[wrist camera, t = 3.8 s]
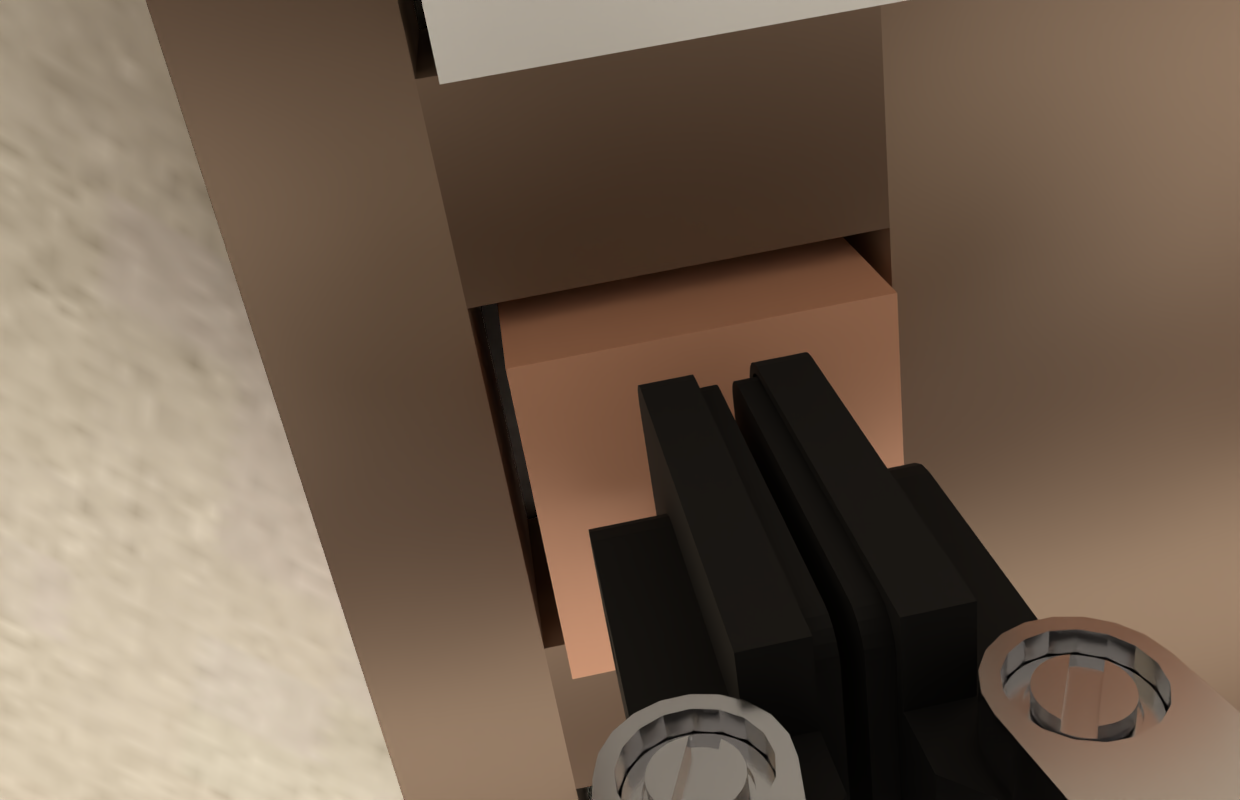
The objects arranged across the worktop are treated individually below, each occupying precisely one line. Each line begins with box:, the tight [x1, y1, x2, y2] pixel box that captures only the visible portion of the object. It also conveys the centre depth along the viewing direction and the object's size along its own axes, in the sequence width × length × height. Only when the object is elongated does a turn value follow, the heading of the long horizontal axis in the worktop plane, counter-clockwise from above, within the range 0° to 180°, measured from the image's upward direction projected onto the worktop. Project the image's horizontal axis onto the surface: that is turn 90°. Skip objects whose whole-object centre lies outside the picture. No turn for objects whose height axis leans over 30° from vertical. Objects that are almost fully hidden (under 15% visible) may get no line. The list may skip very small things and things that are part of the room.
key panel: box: [146, 0, 1240, 800], centre depth 15 cm, size 22×12×3 cm, turn 9°
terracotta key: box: [498, 237, 904, 679], centre depth 14 cm, size 4×4×4 cm
